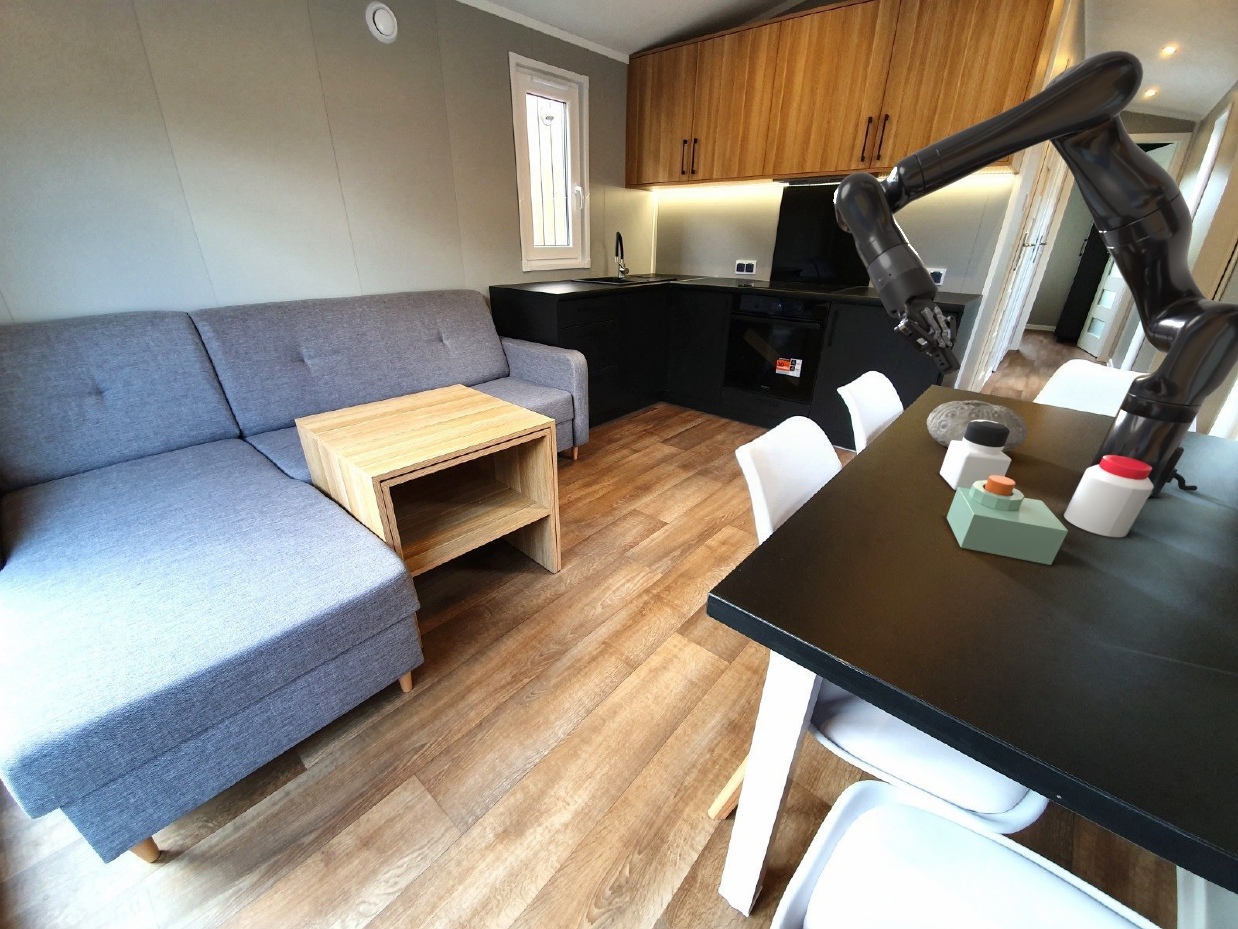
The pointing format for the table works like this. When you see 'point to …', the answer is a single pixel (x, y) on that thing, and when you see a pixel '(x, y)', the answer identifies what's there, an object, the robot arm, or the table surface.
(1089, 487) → the pill bottle
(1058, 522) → the button base
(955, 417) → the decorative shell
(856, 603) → the table surface
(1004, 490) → the orange push button
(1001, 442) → the medicine bottle
